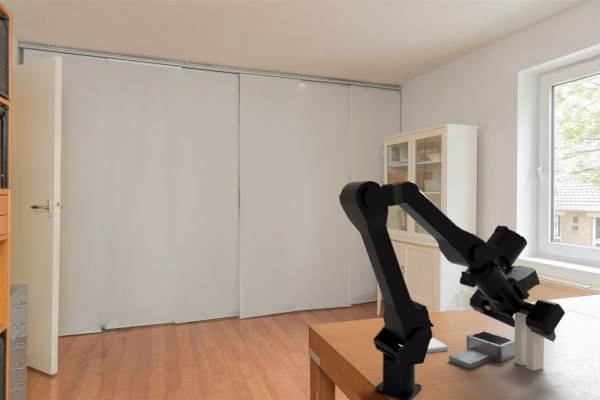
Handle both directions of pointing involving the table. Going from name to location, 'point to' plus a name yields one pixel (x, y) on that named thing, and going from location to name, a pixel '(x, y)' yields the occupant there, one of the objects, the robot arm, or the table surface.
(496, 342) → the grey tray with tab
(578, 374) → the table surface
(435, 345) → the external hard drive
